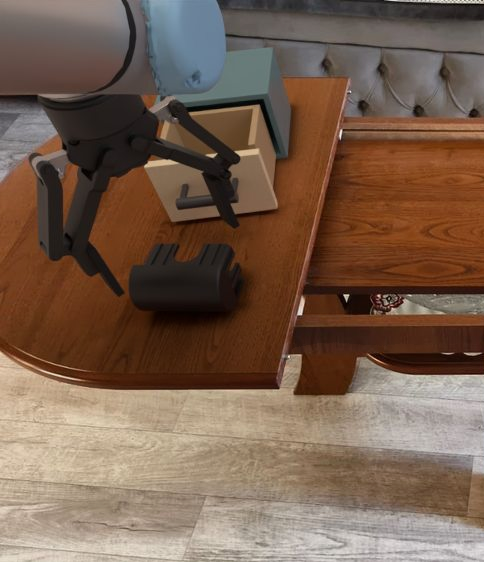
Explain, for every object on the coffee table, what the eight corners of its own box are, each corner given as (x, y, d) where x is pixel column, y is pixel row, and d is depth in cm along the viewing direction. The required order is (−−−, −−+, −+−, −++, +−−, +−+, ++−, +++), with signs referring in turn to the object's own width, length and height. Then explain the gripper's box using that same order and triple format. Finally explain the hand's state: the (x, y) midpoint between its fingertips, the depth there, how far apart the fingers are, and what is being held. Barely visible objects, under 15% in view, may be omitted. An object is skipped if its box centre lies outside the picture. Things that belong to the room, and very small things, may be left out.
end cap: (146, 326, 77) (120, 285, 72) (168, 280, 82) (145, 239, 77) (233, 326, 77) (213, 285, 72) (250, 280, 82) (232, 239, 77)
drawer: (275, 230, 86) (255, 175, 80) (166, 244, 85) (137, 189, 78) (281, 156, 97) (264, 102, 90) (184, 168, 95) (160, 114, 89)
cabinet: (287, 158, 98) (267, 93, 90) (183, 170, 96) (153, 105, 89) (291, 109, 106) (273, 46, 99) (195, 120, 105) (169, 57, 97)
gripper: (190, 13, 66) (254, 183, 81) (-94, 127, 54) (46, 301, 70) (232, 38, 62) (291, 211, 78) (-62, 166, 50) (77, 340, 66)
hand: (175, 254), depth 74 cm, fingers open, 13 cm apart
